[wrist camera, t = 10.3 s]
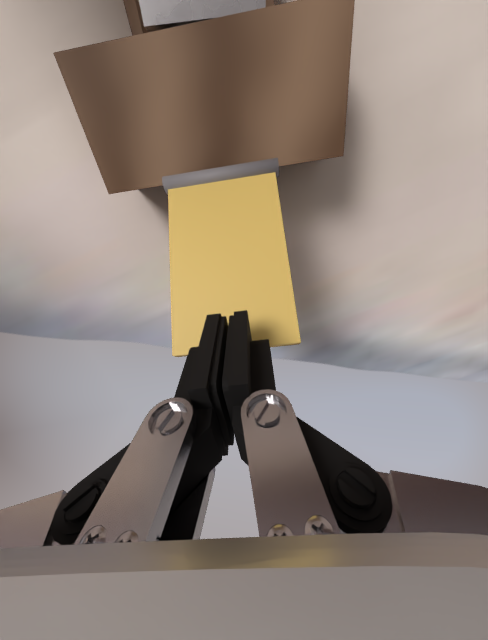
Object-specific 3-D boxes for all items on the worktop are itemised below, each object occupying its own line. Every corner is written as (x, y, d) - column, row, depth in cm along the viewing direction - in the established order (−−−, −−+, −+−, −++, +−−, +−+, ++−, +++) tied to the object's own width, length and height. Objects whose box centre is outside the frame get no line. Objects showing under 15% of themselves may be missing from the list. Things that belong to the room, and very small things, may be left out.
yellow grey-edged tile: (174, 357, 12) (165, 356, 11) (169, 186, 14) (161, 172, 13) (303, 343, 11) (306, 341, 10) (276, 168, 14) (277, 153, 13)
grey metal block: (265, 223, 20) (270, 233, 16) (197, 228, 20) (187, 240, 17) (259, 19, 14) (264, -31, 10) (162, 31, 14) (135, -14, 11)
